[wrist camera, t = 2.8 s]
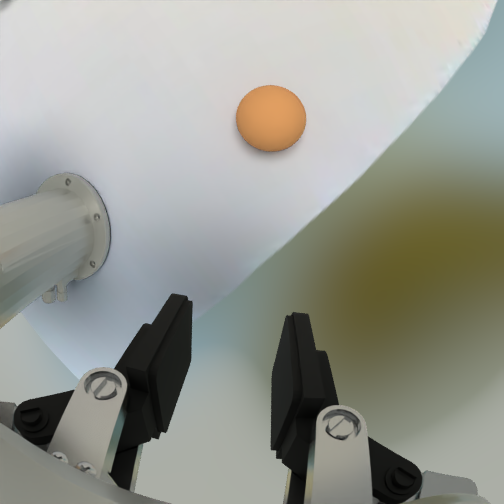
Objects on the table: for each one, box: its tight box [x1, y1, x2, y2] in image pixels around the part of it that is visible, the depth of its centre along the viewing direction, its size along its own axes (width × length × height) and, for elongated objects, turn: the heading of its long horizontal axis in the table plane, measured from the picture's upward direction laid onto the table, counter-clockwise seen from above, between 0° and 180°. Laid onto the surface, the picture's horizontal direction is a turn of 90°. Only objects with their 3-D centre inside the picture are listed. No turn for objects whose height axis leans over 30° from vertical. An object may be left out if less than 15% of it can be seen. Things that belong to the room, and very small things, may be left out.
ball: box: [236, 85, 306, 151], centre depth 20 cm, size 6×6×6 cm
